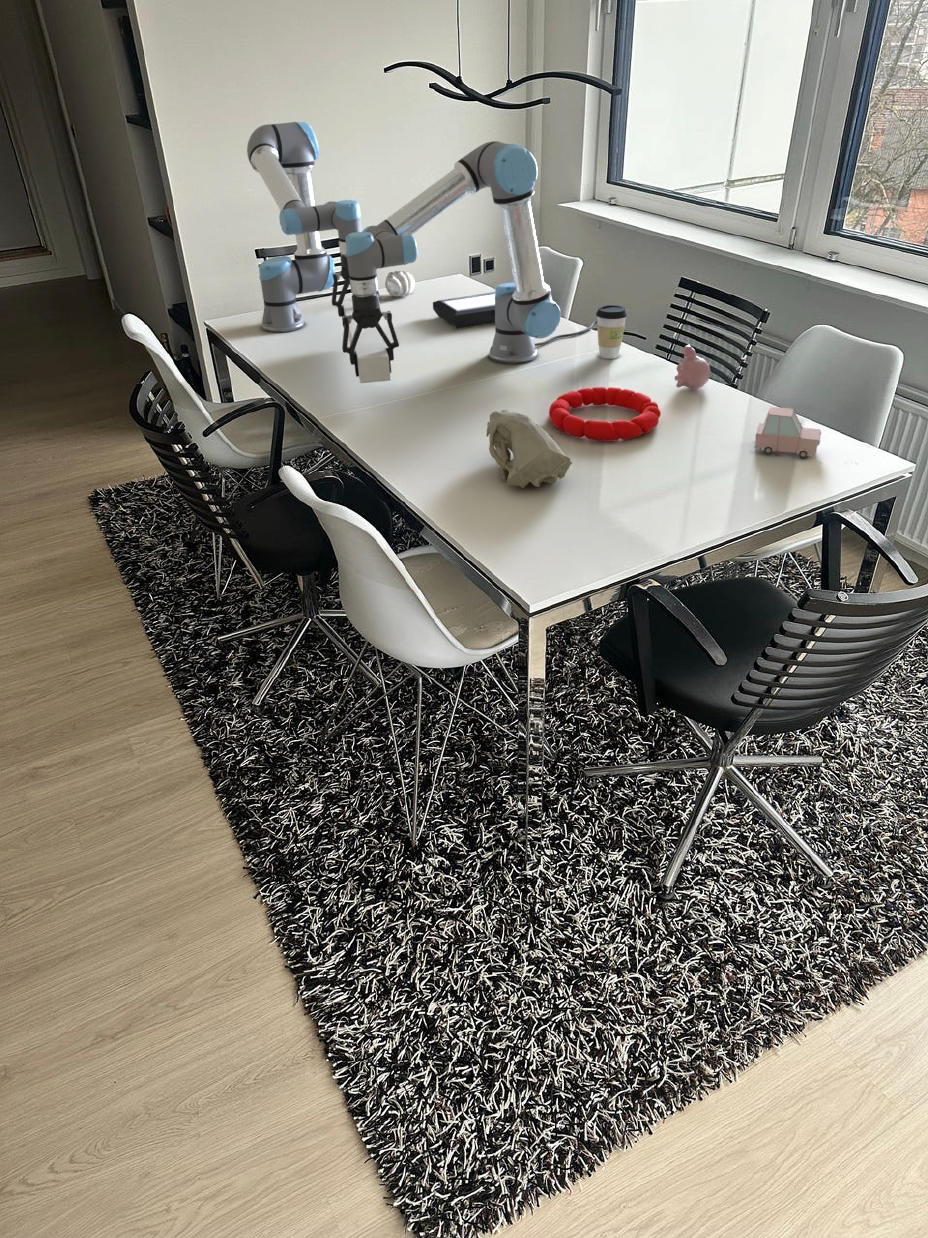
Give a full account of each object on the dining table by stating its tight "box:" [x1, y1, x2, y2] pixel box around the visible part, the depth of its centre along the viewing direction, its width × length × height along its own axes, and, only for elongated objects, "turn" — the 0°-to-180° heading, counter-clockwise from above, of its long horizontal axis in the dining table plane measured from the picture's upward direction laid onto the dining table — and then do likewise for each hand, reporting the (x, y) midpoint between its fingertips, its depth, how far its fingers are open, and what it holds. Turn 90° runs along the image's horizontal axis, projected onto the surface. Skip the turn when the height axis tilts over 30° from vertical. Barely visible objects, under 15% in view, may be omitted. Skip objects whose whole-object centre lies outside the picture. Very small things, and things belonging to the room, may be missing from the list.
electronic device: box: [432, 291, 495, 330], centre depth 326 cm, size 32×6×20 cm
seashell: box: [384, 270, 416, 298], centre depth 353 cm, size 10×15×10 cm
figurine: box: [674, 344, 711, 390], centre depth 259 cm, size 9×11×12 cm
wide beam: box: [342, 300, 391, 384], centre depth 276 cm, size 60×9×7 cm, turn 11°
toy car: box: [753, 406, 822, 459], centre depth 222 cm, size 9×15×10 cm, turn 70°
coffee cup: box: [595, 304, 628, 360], centre depth 285 cm, size 10×10×15 cm
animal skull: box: [485, 409, 573, 489], centre depth 216 cm, size 17×25×20 cm
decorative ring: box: [548, 386, 661, 442], centre depth 242 cm, size 7×30×30 cm
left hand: (358, 324), depth 298 cm, fingers closed on wide beam, 9 cm apart
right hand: (373, 373), depth 258 cm, fingers closed on wide beam, 9 cm apart
